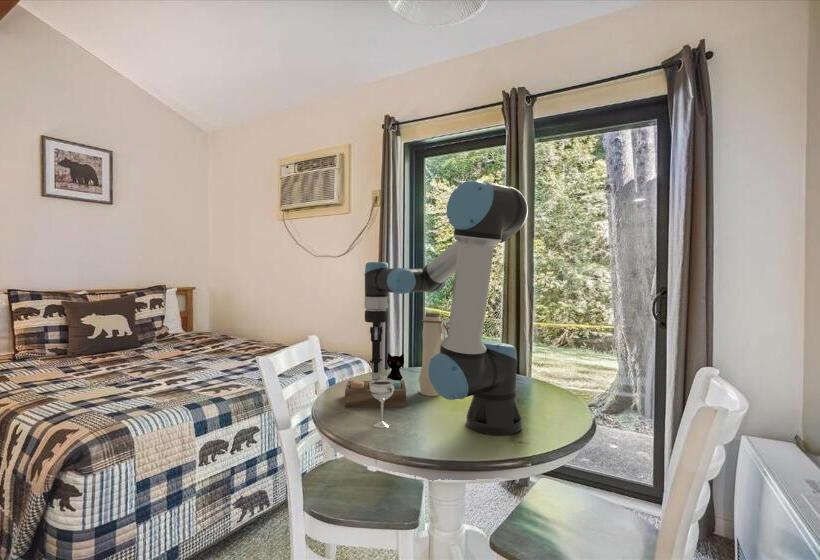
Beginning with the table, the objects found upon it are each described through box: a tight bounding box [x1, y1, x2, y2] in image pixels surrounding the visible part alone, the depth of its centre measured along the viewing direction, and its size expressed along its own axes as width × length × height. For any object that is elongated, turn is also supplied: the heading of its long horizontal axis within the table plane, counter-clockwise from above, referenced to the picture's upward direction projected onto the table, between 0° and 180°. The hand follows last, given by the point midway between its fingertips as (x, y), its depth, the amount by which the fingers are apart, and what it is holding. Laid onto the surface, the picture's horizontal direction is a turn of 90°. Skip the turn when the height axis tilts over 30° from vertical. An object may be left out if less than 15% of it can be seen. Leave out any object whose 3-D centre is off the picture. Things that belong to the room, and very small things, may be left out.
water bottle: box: [418, 311, 449, 397], centre depth 148 cm, size 10×9×28 cm
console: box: [344, 379, 407, 408], centre depth 139 cm, size 12×19×5 cm, turn 94°
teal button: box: [393, 381, 401, 388], centre depth 139 cm, size 4×4×5 cm
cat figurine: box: [386, 352, 405, 380], centre depth 157 cm, size 7×7×12 cm
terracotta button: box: [351, 380, 364, 388], centre depth 138 cm, size 4×4×5 cm
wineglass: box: [369, 377, 394, 429], centre depth 118 cm, size 7×7×12 cm
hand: (375, 381), depth 139 cm, fingers closed
